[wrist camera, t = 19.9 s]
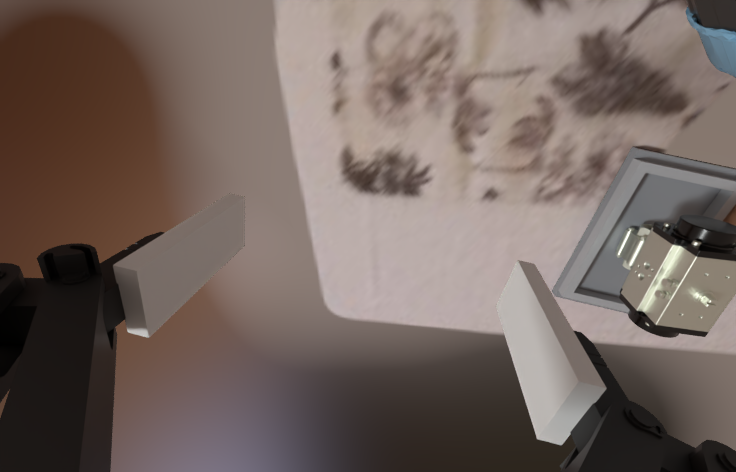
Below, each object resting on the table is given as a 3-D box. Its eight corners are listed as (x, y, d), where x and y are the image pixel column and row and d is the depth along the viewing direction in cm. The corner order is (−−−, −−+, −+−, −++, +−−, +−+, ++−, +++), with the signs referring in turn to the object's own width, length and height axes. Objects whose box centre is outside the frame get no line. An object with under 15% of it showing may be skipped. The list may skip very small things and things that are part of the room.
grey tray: (632, 146, 36) (652, 153, 32) (784, 178, 35) (820, 189, 32) (551, 290, 45) (561, 307, 42) (670, 318, 44) (689, 338, 41)
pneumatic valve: (679, 197, 36) (786, 249, 25) (634, 284, 41) (706, 356, 31) (625, 192, 37) (708, 240, 26) (588, 278, 42) (643, 347, 31)
